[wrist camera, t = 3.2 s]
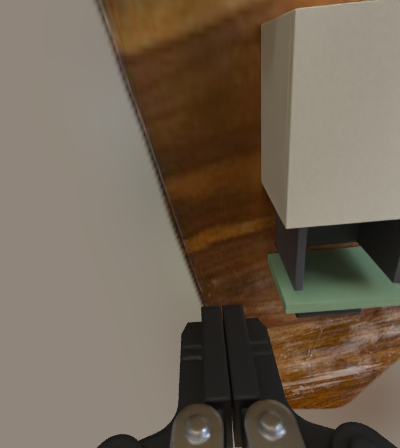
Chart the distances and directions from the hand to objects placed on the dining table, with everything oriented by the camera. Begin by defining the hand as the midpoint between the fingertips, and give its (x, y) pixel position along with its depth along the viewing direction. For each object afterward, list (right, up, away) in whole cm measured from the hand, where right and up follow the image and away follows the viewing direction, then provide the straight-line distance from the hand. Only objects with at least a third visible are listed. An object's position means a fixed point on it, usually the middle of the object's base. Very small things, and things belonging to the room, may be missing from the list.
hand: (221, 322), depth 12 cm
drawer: (+13, +4, +25) cm, 28 cm away
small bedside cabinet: (+12, +15, +19) cm, 27 cm away
